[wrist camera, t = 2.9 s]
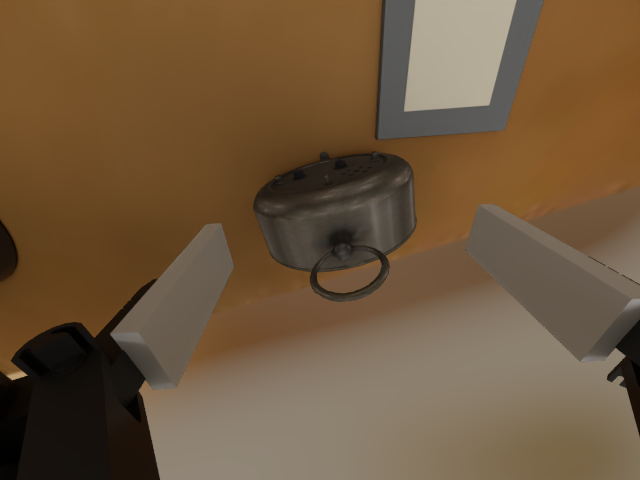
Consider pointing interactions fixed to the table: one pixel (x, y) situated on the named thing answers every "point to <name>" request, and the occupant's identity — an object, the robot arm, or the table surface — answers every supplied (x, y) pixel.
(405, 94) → the mat
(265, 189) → the alarm clock
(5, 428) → the robot arm
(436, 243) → the table surface
